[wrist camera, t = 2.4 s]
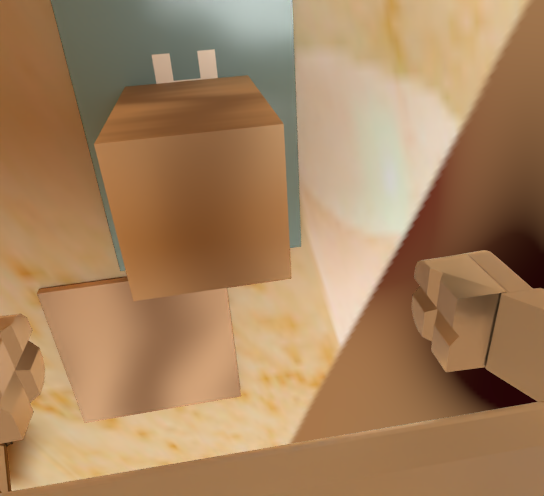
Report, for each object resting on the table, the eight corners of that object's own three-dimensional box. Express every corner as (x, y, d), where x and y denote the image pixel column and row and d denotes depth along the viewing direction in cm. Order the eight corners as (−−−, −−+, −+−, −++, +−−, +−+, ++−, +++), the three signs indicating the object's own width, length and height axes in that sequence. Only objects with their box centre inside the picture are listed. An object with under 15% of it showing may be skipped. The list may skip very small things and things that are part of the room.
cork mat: (86, 417, 28) (84, 422, 27) (39, 289, 23) (36, 293, 23) (240, 391, 29) (240, 396, 28) (223, 263, 24) (224, 267, 24)
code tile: (120, 269, 23) (120, 271, 23) (49, -8, 17) (48, -8, 17) (300, 244, 24) (301, 246, 24) (290, -25, 18) (291, -25, 18)
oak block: (148, 200, 22) (133, 301, 15) (125, 86, 19) (94, 144, 12) (257, 187, 22) (291, 278, 15) (247, 75, 20) (283, 123, 13)
